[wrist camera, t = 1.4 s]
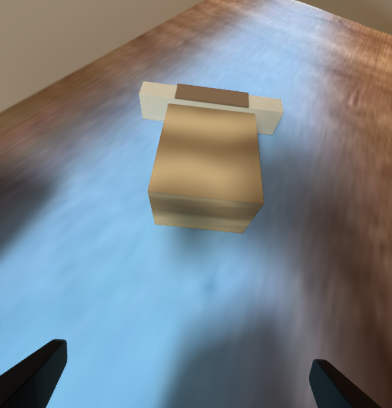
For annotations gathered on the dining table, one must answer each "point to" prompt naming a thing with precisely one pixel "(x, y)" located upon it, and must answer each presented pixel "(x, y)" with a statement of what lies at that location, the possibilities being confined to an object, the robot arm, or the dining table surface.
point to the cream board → (209, 103)
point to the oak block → (206, 170)
